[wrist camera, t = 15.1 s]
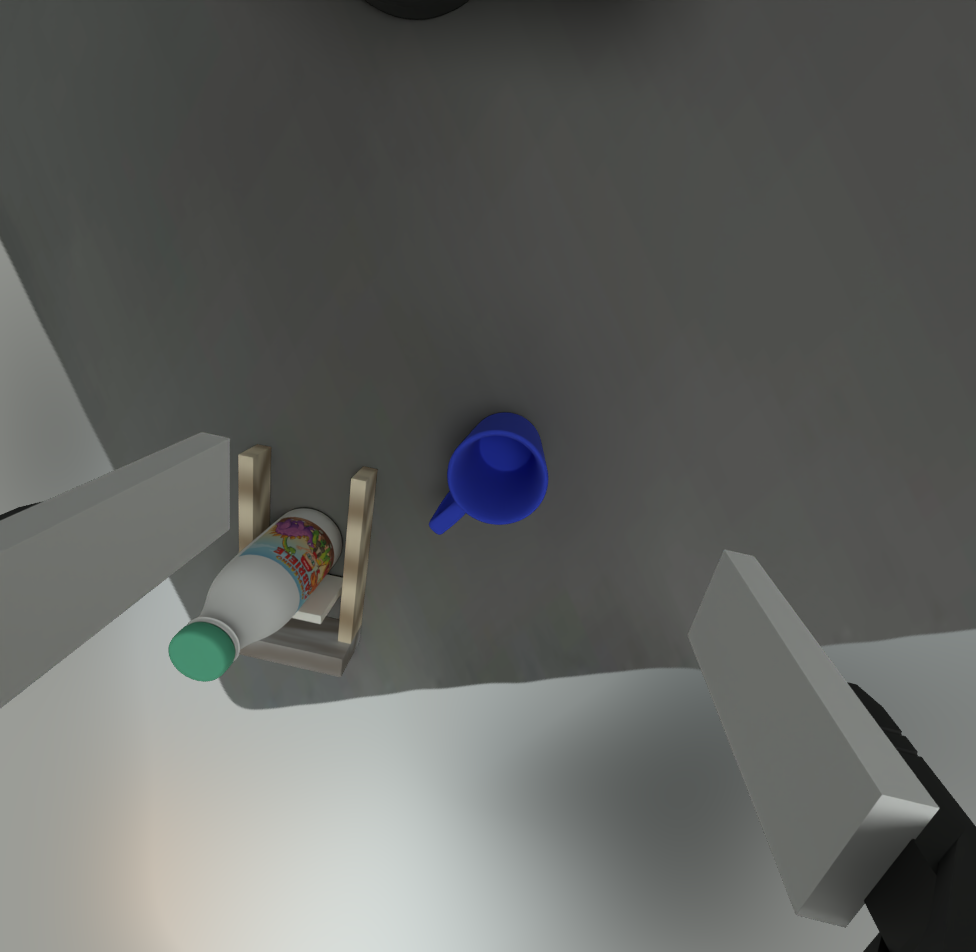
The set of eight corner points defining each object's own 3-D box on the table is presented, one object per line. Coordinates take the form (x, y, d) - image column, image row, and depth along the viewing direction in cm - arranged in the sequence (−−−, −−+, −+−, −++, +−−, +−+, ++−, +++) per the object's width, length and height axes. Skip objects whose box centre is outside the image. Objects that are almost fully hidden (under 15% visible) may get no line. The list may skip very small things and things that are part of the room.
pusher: (272, 562, 58) (237, 597, 52) (346, 578, 58) (321, 616, 51) (271, 591, 60) (237, 629, 53) (344, 607, 59) (319, 647, 53)
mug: (422, 464, 52) (395, 503, 43) (508, 385, 48) (498, 409, 39) (478, 519, 54) (463, 568, 44) (565, 446, 50) (569, 483, 41)
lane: (257, 444, 53) (223, 463, 48) (377, 469, 53) (357, 491, 47) (255, 618, 62) (226, 651, 56) (359, 641, 61) (340, 677, 56)
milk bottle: (311, 579, 59) (201, 715, 40) (263, 530, 57) (126, 648, 38) (358, 544, 56) (264, 671, 38) (309, 492, 55) (187, 598, 36)
